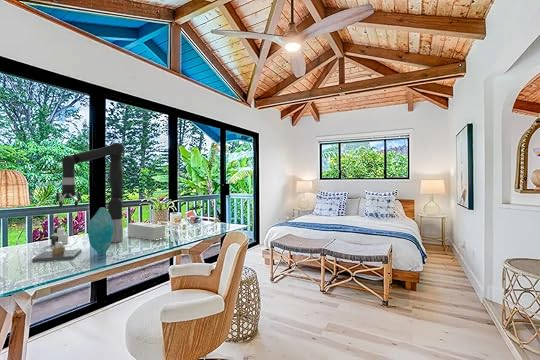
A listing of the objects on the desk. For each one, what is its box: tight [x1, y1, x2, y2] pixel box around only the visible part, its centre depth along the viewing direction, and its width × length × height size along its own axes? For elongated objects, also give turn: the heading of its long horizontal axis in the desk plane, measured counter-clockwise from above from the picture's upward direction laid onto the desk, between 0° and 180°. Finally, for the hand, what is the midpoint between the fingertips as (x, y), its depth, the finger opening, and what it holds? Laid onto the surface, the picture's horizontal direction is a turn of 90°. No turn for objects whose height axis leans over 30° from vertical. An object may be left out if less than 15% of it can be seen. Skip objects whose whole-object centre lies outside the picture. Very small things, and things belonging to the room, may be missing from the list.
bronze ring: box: [51, 245, 66, 255], centre depth 172 cm, size 6×6×4 cm
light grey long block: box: [127, 221, 166, 241], centre depth 229 cm, size 32×11×11 cm, turn 62°
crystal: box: [87, 207, 113, 256], centre depth 179 cm, size 12×14×30 cm
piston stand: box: [31, 242, 82, 263], centre depth 172 cm, size 20×16×9 cm
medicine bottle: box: [50, 227, 69, 246], centre depth 203 cm, size 7×7×12 cm
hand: (68, 207), depth 197 cm, fingers open, 8 cm apart
